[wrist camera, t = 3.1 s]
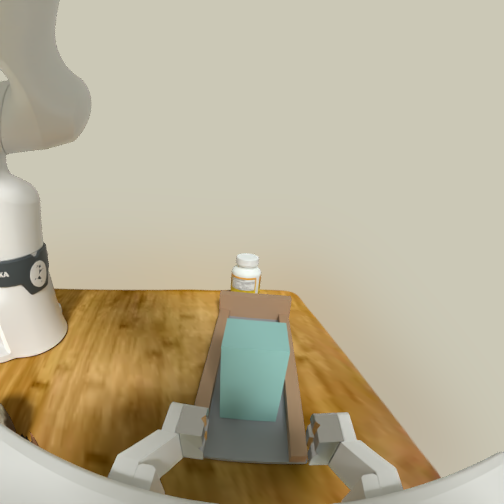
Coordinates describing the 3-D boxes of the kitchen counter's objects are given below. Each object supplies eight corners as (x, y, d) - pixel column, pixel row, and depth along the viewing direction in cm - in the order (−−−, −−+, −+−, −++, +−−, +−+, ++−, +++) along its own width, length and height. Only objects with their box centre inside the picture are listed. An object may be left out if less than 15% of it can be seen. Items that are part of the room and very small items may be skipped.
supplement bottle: (245, 314, 51) (249, 263, 48) (224, 304, 54) (226, 255, 51) (263, 304, 55) (268, 257, 52) (242, 295, 58) (245, 250, 55)
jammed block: (219, 417, 27) (221, 346, 24) (224, 387, 32) (227, 318, 29) (275, 421, 27) (290, 351, 24) (274, 391, 31) (286, 322, 29)
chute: (182, 454, 22) (178, 430, 20) (220, 312, 50) (221, 290, 49) (306, 463, 22) (317, 440, 20) (287, 318, 50) (290, 296, 49)
